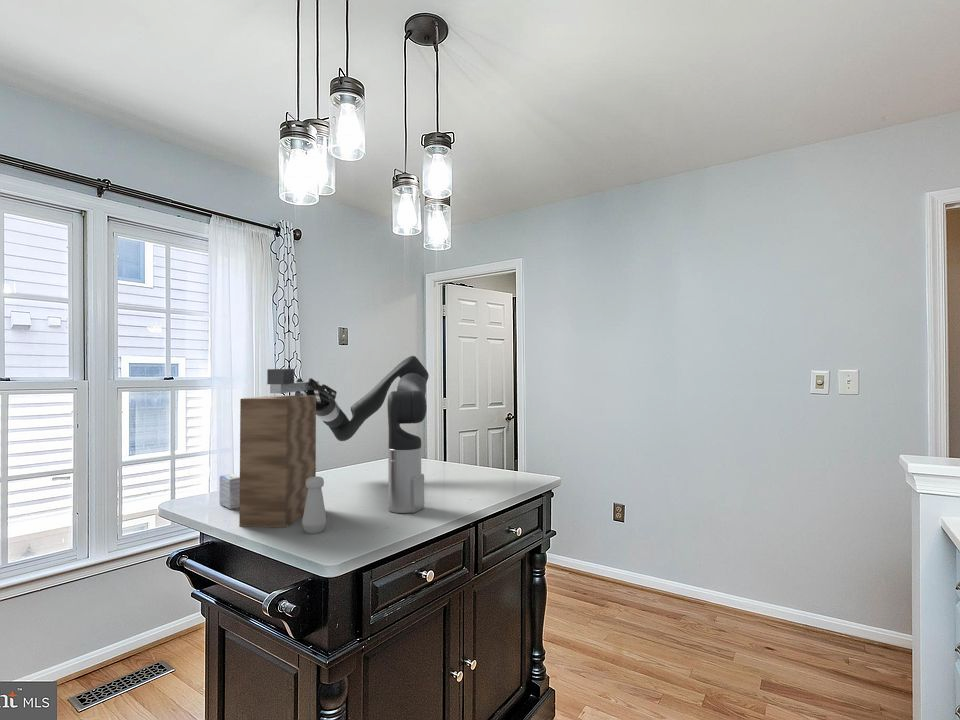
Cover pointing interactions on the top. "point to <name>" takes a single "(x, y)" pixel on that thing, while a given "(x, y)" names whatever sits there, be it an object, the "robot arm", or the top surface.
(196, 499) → the top surface
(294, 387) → the gray stepped bar
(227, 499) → the medicine box
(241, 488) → the stand
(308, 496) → the salt shaker
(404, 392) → the robot arm
